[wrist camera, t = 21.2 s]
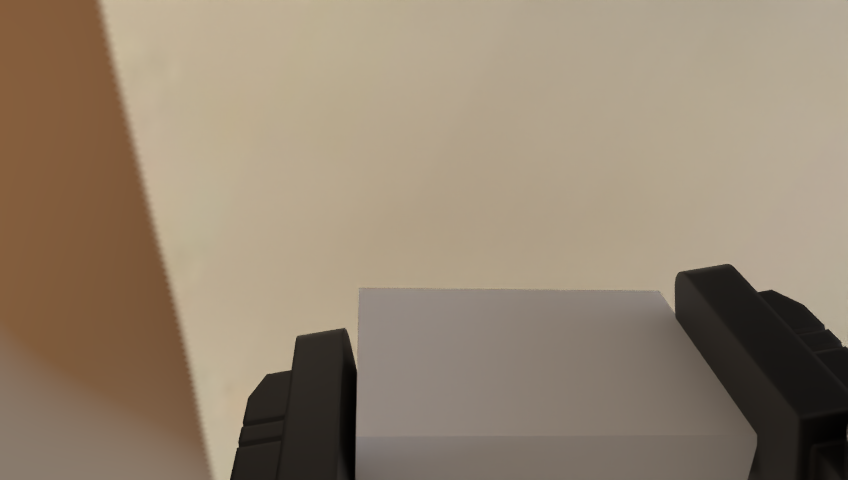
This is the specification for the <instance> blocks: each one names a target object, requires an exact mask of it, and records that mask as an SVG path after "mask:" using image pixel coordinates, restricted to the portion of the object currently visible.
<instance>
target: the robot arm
mask: <svg viewBox="0 0 848 480" xmlns="http://www.w3.org/2000/svg"><path fill="white" fill-rule="evenodd" d="M675 318H676V319H677V321H678V322H679V324H680V325H681V326H682V328H683V329H684V331H685V332H686V334H687V335H688V336H689V338H690V339H691V341H692V342H693V344H694V345H695V346H696V348H697V349H698V351H699V352H700V354H701V355H702V356H703V358H704V359H705V361H706V362H707V364H708V365H709V366H710V368H711V369H712V371H713V372H714V374H715V375H716V376H717V378H718V379H719V381H720V382H721V384H722V385H723V387H724V388H725V389H726V391H727V392H728V394H729V395H730V397H731V398H732V399H733V401H734V402H735V404H736V405H737V407H738V408H739V409H740V411H741V412H742V414H743V415H744V417H745V418H746V419H747V421H748V422H749V424H750V425H751V427H752V428H753V429H754V431H755V432H756V434H757V447H756V451H755V454H754V458H753V462H752V465H751V469H750V472H749V476H748V480H848V348H847V347H846V346H845V347H842V344H841V341H840V340H839V339H838V338H837V337H836V336H835V335H834V334H833V333H832V332H831V331H830V330H829V329H827V330H825V327H824V324H823V323H821V322H820V321H819V320H818V319H817V318H816V317H815V316H814V315H813V314H812V313H811V312H810V311H809V310H808V309H807V308H806V307H805V306H804V305H803V304H801V303H799V302H796V301H794V300H792V299H790V298H788V297H786V296H784V295H782V294H780V293H778V292H776V291H773V290H768V291H762V292H757V291H756V290H755V289H754V288H753V287H752V286H751V285H750V284H749V283H748V282H747V281H746V279H745V278H744V277H743V276H742V275H741V274H740V273H739V272H738V271H737V270H736V269H735V268H734V267H733V266H732V265H730V264H724V265H718V266H712V267H706V268H700V269H694V270H688V271H682V272H679V273H678V274H677V276H676V280H675ZM356 406H357V369H356V365H355V360H354V356H353V352H352V347H351V343H350V339H349V336H348V333H347V330H346V329H345V328H342V329H336V330H330V331H324V332H318V333H312V334H306V335H300V336H297V338H296V343H295V350H294V357H293V363H292V370H290V371H284V372H278V373H272V374H267V375H266V376H265V377H264V379H263V380H262V381H261V382H260V384H259V385H258V386H257V388H256V389H255V390H254V391H253V393H252V394H251V395H250V396H249V398H248V401H247V406H246V410H245V415H244V419H243V427H242V428H241V433H240V437H239V442H238V443H239V448H237V451H236V455H235V460H234V464H233V469H232V473H231V478H230V480H355V466H356Z"/></svg>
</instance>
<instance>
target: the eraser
mask: <svg viewBox="0 0 848 480" xmlns="http://www.w3.org/2000/svg"><path fill="white" fill-rule="evenodd" d="M756 447H757V434H756V432H755V431H754V429H753V428H752V427H751V425H750V424H749V422H748V421H747V419H746V418H745V417H744V415H743V414H742V412H741V411H740V409H739V408H738V407H737V405H736V404H735V402H734V401H733V399H732V398H731V397H730V395H729V394H728V392H727V391H726V389H725V388H724V387H723V385H722V384H721V382H720V381H719V379H718V378H717V376H716V375H715V374H714V372H713V371H712V369H711V368H710V366H709V365H708V364H707V362H706V361H705V359H704V358H703V356H702V355H701V354H700V352H699V351H698V349H697V348H696V346H695V345H694V344H693V342H692V341H691V339H690V338H689V336H688V335H687V334H686V332H685V331H684V329H683V328H682V326H681V325H680V324H679V322H678V321H677V319H676V318H675V313H674V312H673V310H672V309H671V307H670V306H669V304H668V303H667V302H666V300H665V299H664V297H663V296H662V294H661V293H660V292H659V291H626V290H525V289H423V288H359V311H358V358H357V406H356V466H355V480H748V476H749V472H750V469H751V465H752V462H753V458H754V454H755V451H756Z"/></svg>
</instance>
